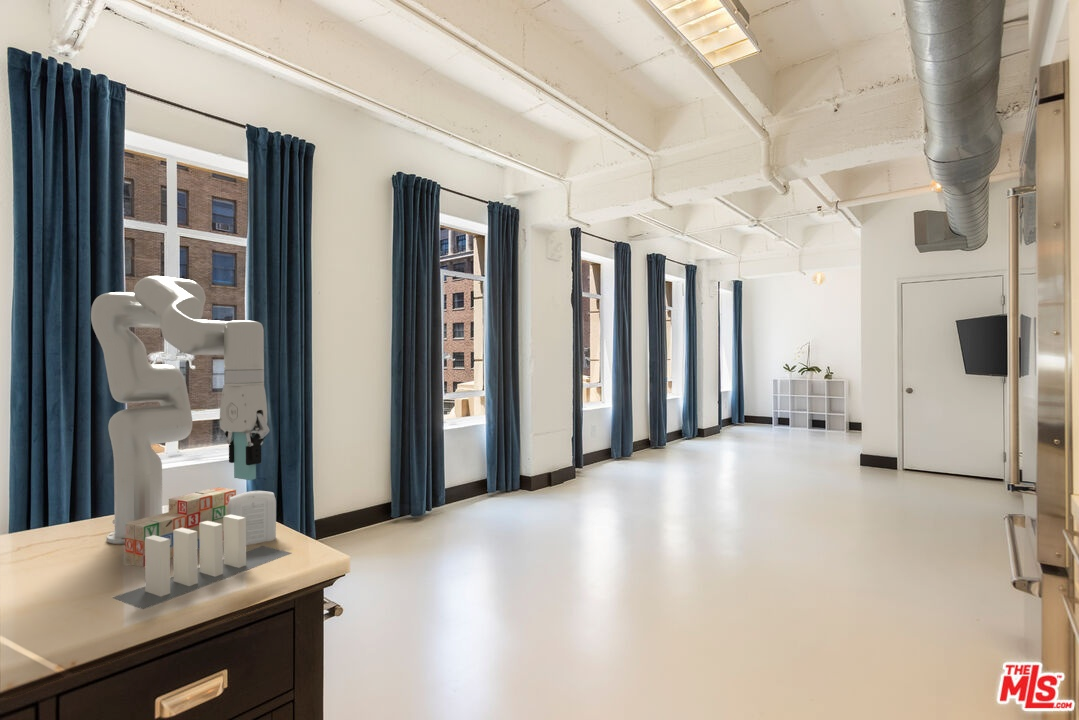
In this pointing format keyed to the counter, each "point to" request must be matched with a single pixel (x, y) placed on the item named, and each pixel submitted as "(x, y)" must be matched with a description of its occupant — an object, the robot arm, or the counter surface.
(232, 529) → the domino
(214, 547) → the domino
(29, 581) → the counter surface
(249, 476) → the domino
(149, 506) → the robot arm
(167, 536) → the stack of blocks
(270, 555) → the domino mat
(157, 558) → the domino
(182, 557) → the domino
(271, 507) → the white rounded slab
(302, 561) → the counter surface
